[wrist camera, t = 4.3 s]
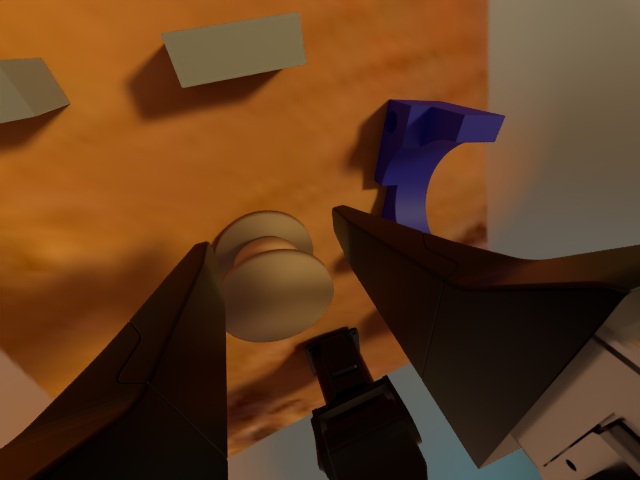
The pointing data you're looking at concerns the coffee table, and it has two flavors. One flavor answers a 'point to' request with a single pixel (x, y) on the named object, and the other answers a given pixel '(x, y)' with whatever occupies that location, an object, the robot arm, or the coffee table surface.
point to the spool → (271, 277)
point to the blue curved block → (423, 151)
